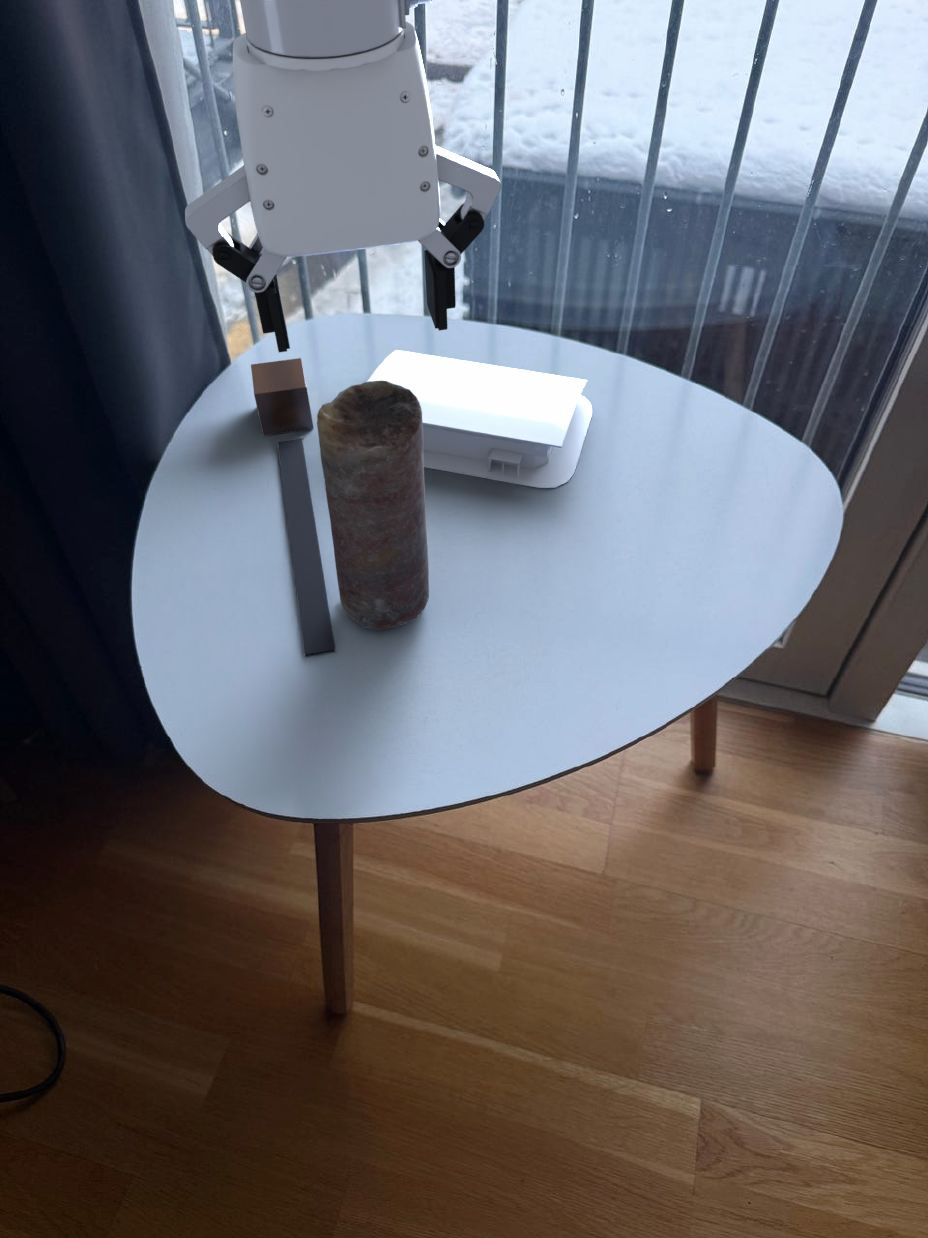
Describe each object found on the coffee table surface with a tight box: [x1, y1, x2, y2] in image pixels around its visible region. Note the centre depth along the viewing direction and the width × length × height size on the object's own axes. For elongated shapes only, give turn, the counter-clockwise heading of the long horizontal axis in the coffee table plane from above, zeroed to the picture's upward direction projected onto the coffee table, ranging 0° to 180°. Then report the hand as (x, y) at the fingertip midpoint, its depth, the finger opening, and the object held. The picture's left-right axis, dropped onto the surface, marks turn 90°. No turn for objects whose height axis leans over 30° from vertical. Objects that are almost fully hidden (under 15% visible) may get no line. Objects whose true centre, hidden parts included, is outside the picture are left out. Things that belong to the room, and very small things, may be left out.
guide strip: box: [277, 437, 336, 657], centre depth 81 cm, size 2×27×1 cm, turn 12°
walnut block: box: [250, 357, 314, 437], centre depth 90 cm, size 5×5×5 cm
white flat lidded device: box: [366, 349, 593, 489], centre depth 90 cm, size 15×23×4 cm, turn 74°
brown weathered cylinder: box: [316, 381, 430, 631], centre depth 68 cm, size 8×7×20 cm
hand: (360, 328), depth 56 cm, fingers open, 9 cm apart
